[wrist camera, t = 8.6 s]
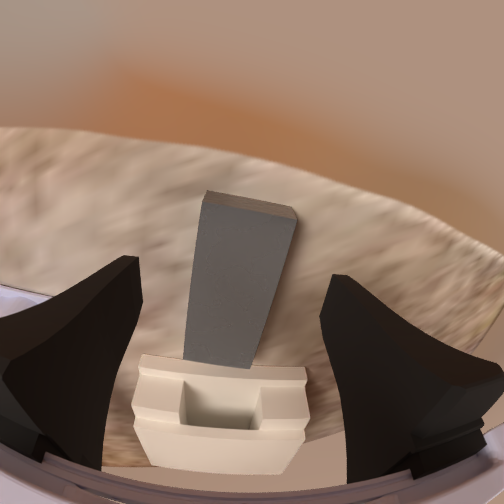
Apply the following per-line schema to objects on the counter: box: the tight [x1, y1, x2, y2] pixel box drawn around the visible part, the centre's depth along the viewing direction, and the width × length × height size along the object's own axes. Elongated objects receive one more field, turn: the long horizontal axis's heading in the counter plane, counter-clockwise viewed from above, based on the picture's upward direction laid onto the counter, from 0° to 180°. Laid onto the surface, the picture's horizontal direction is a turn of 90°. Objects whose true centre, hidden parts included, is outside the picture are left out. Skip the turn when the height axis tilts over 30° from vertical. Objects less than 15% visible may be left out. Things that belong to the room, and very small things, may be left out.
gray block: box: [183, 190, 297, 369], centre depth 19 cm, size 5×12×2 cm, turn 168°
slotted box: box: [131, 354, 310, 475], centre depth 24 cm, size 13×14×6 cm
